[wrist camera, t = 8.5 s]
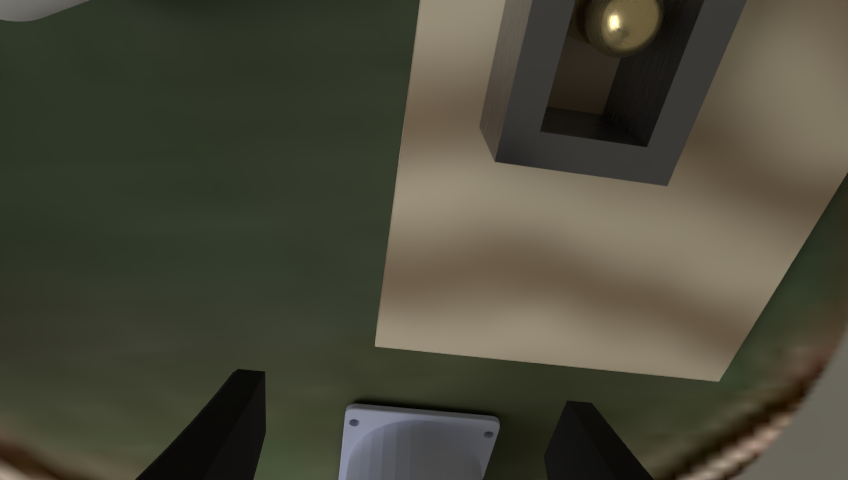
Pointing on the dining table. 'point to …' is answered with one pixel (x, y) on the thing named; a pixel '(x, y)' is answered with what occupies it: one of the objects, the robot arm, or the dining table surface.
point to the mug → (33, 8)
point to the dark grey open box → (627, 101)
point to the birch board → (611, 203)
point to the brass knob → (616, 25)
